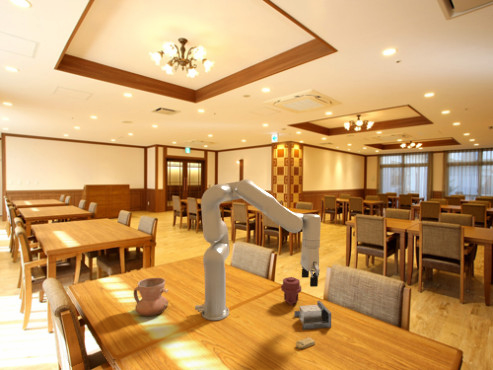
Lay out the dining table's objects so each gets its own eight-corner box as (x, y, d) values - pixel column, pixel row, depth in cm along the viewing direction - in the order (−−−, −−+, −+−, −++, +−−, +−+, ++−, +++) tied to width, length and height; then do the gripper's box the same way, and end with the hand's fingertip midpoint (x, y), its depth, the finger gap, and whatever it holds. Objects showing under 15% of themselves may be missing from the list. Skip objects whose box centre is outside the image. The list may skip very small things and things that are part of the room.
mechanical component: (301, 299, 137) (301, 308, 127) (281, 297, 139) (280, 306, 129) (301, 275, 137) (301, 283, 127) (281, 274, 139) (280, 281, 129)
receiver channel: (303, 329, 110) (303, 315, 109) (294, 315, 121) (294, 302, 121) (331, 327, 111) (331, 313, 111) (319, 313, 123) (319, 300, 122)
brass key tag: (299, 350, 97) (299, 347, 96) (294, 345, 99) (294, 342, 99) (314, 344, 100) (314, 341, 100) (309, 340, 103) (309, 336, 103)
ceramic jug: (176, 306, 130) (175, 277, 129) (159, 321, 116) (158, 289, 115) (144, 302, 134) (144, 274, 134) (124, 316, 120) (123, 285, 120)
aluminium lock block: (303, 325, 113) (303, 311, 113) (299, 319, 118) (299, 306, 118) (322, 323, 114) (322, 310, 114) (318, 317, 119) (318, 304, 119)
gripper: (295, 238, 123) (294, 274, 124) (310, 248, 106) (308, 290, 106) (311, 238, 124) (309, 274, 125) (328, 248, 107) (326, 290, 108)
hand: (309, 281), depth 116 cm, fingers open, 9 cm apart
